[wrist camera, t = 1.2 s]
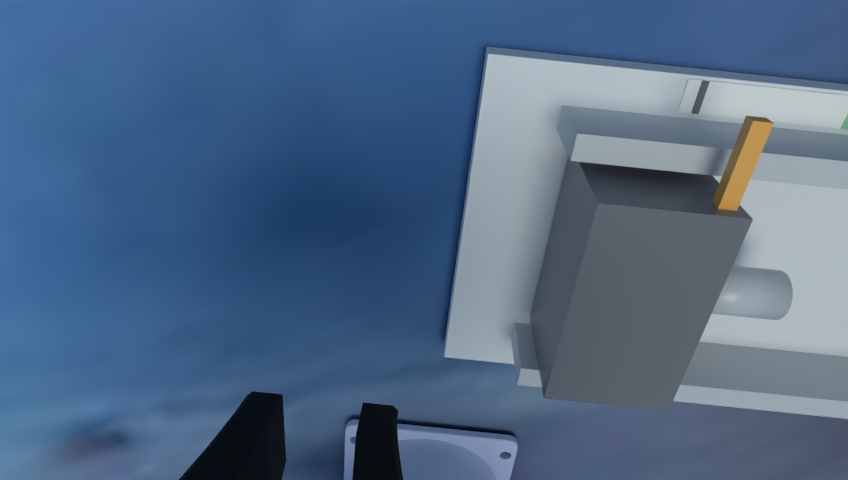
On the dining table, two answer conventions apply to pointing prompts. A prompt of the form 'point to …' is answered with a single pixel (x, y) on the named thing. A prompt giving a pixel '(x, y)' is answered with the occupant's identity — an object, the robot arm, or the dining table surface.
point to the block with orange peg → (645, 276)
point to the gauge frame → (670, 151)
